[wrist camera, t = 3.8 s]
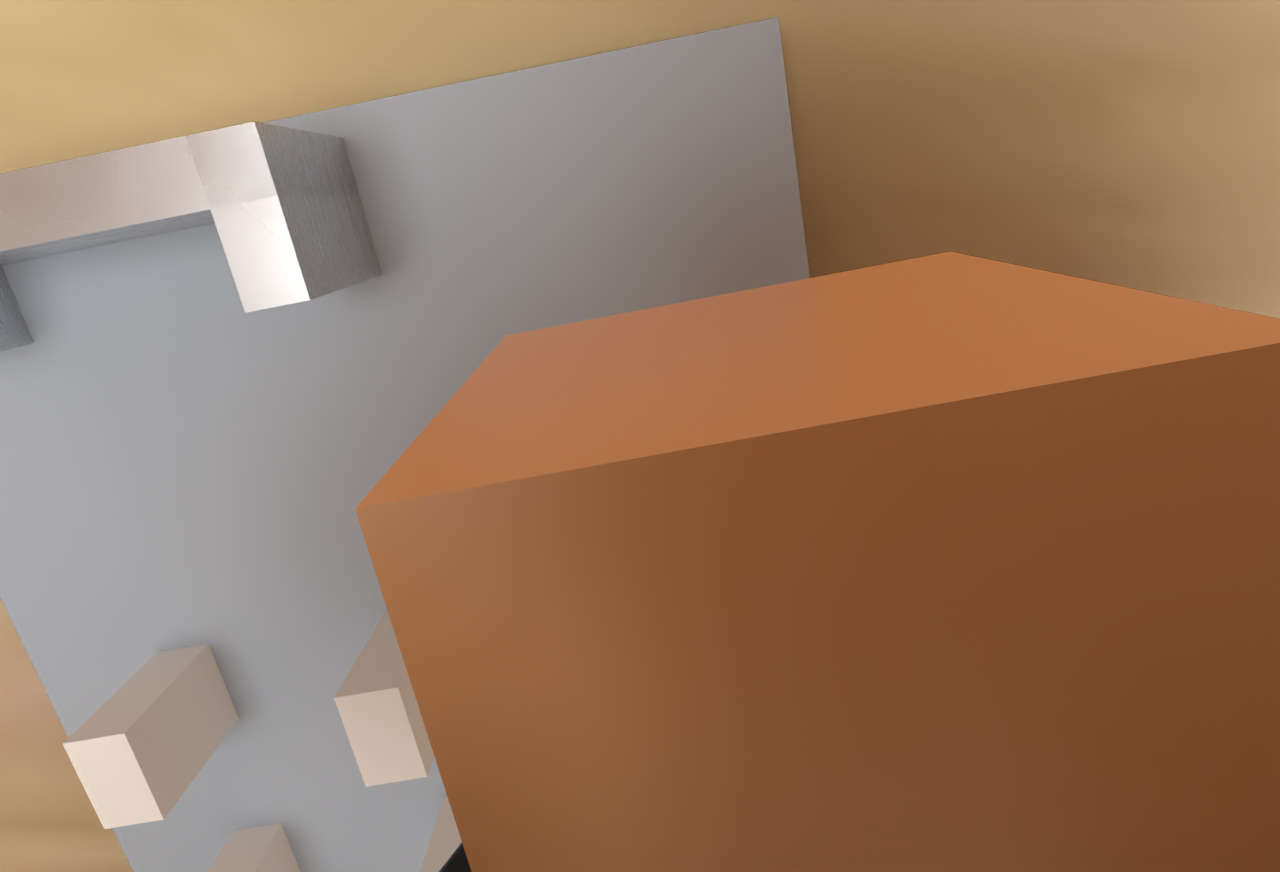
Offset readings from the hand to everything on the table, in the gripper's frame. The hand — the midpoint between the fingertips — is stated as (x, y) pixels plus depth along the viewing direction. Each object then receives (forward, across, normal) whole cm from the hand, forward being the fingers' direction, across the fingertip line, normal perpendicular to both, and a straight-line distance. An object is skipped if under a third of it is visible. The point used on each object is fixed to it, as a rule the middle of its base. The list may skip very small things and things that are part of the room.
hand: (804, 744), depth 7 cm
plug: (+1, 0, +3) cm, 4 cm away
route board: (+10, +7, +3) cm, 13 cm away
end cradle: (+9, +10, -6) cm, 14 cm away
